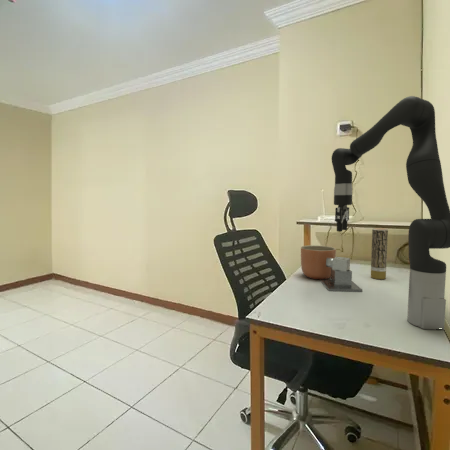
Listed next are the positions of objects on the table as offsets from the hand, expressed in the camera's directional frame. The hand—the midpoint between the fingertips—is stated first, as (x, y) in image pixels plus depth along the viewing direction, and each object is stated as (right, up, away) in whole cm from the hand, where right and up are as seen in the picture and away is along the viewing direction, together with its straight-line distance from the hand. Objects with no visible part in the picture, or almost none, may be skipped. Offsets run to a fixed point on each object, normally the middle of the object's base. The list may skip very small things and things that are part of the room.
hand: (342, 230), depth 127 cm
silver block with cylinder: (-1, -24, +3) cm, 24 cm away
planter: (-5, -25, +19) cm, 31 cm away
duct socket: (0, -26, +2) cm, 26 cm away
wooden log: (+25, -25, +16) cm, 39 cm away
